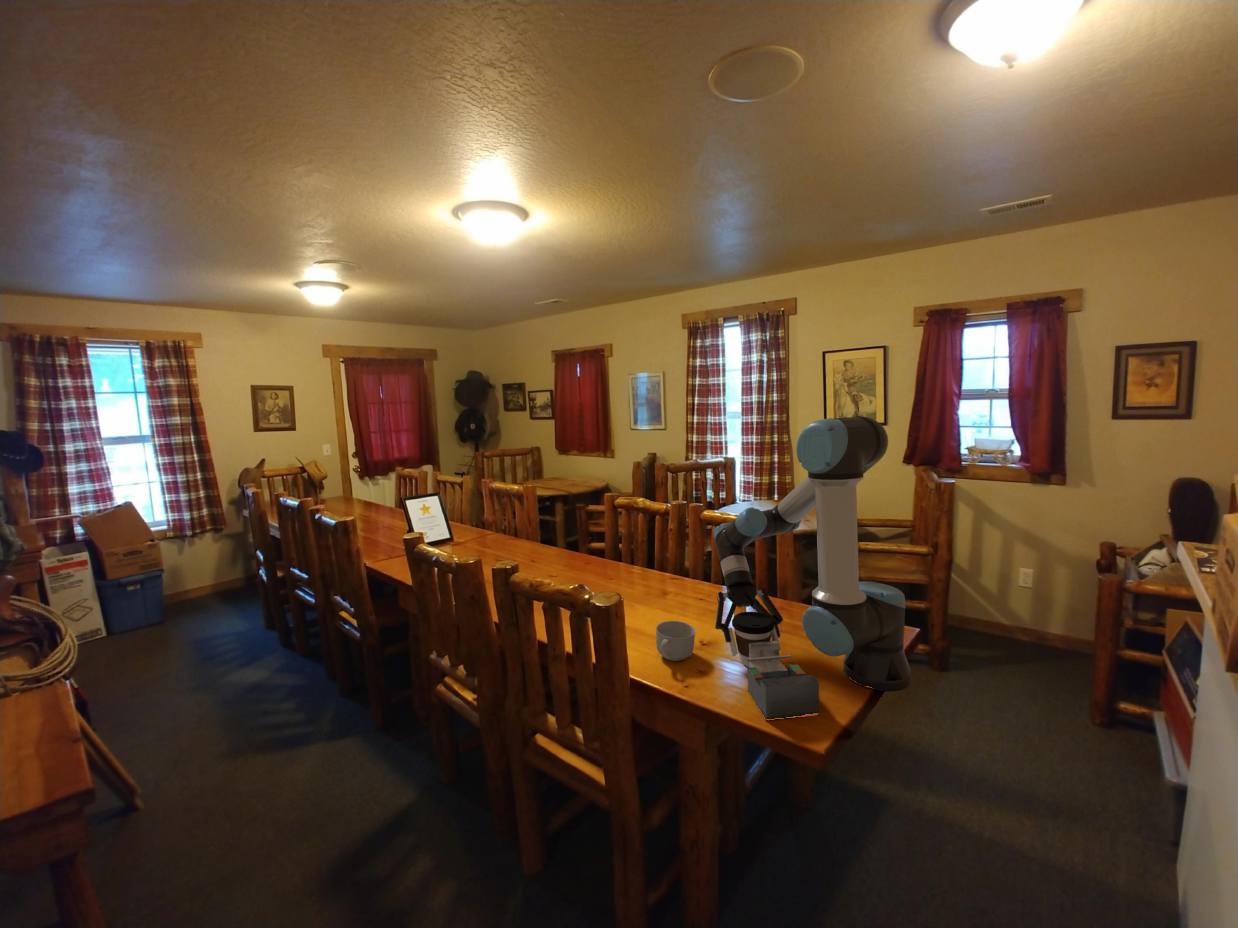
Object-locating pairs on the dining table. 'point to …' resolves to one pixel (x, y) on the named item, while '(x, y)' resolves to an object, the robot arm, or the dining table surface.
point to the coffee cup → (751, 631)
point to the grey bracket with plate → (767, 659)
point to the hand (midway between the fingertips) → (756, 652)
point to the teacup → (675, 640)
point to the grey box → (784, 693)
